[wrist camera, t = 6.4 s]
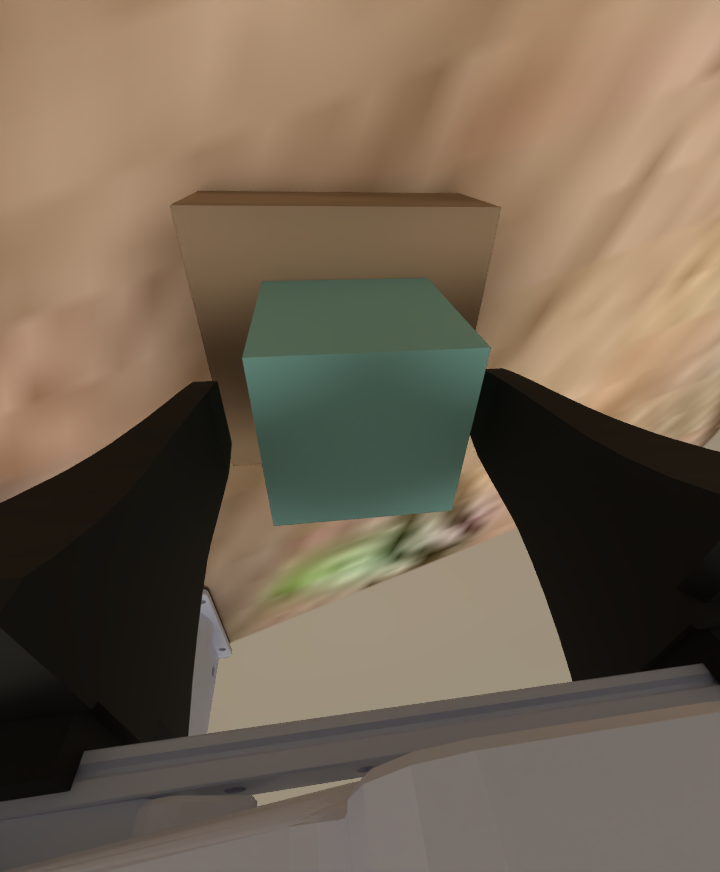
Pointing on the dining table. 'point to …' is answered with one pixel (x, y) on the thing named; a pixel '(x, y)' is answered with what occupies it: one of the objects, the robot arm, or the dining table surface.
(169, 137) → the dining table surface
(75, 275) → the dining table surface
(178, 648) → the robot arm
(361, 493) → the teal cube
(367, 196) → the walnut block
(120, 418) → the dining table surface
